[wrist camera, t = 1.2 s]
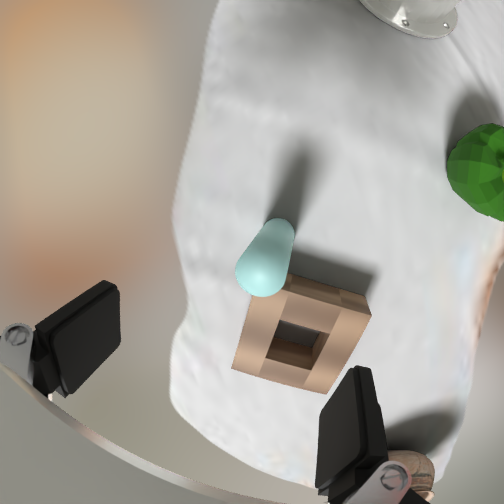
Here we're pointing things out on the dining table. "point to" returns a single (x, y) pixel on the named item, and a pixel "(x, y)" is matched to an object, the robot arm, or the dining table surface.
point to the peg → (266, 259)
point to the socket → (308, 315)
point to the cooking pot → (416, 471)
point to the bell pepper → (480, 170)
